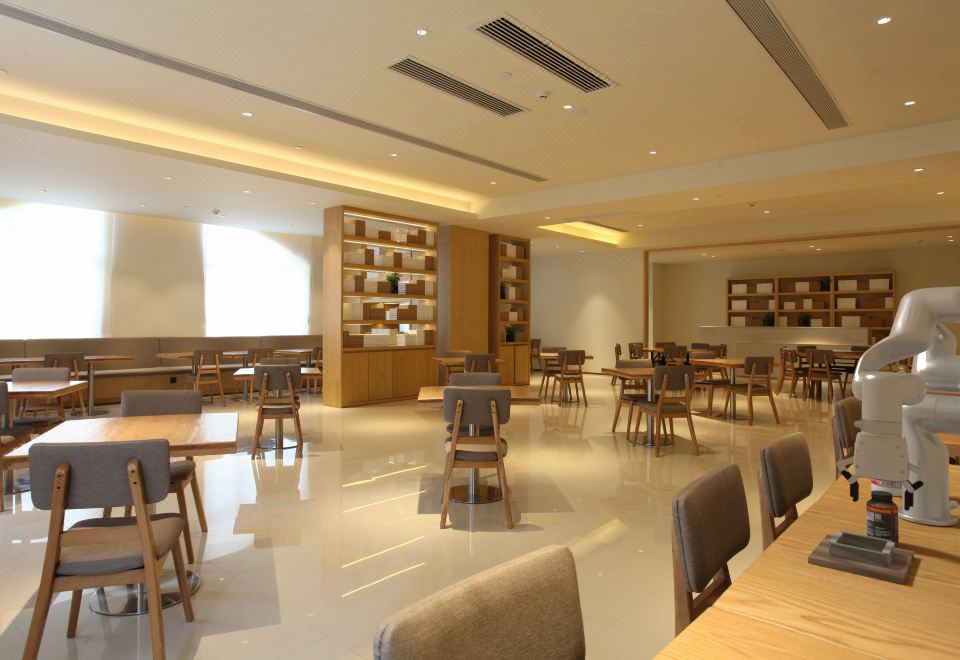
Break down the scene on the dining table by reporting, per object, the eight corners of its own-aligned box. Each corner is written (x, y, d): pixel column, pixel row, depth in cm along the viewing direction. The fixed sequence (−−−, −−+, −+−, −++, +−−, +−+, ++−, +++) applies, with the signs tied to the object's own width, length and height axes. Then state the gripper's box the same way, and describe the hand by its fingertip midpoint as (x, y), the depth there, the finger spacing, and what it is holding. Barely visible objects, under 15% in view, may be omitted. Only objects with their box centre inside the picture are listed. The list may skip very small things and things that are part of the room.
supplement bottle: (893, 539, 135) (893, 490, 135) (902, 548, 129) (902, 497, 129) (863, 536, 137) (863, 487, 137) (870, 545, 131) (870, 494, 131)
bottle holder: (827, 539, 135) (827, 523, 135) (914, 557, 124) (913, 539, 124) (808, 562, 121) (808, 544, 121) (903, 584, 111) (903, 564, 111)
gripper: (833, 425, 136) (833, 500, 135) (928, 434, 124) (927, 516, 124) (840, 422, 141) (839, 494, 141) (931, 431, 130) (930, 509, 130)
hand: (880, 505), depth 133 cm, fingers open, 9 cm apart
